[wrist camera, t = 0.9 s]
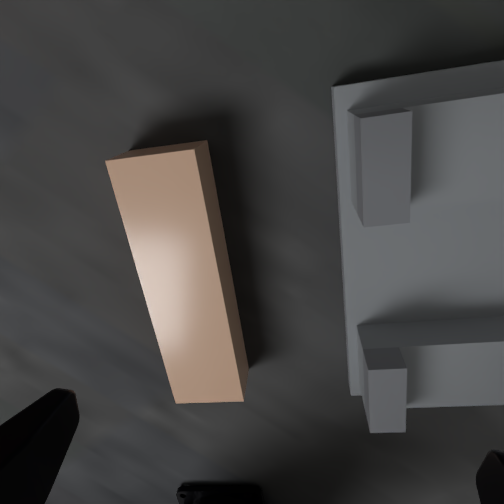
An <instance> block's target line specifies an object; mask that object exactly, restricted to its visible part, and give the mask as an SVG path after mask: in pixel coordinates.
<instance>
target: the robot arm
mask: <svg viewBox="0 0 504 504" xmlns="http://www.w3.org/2000/svg"><path fill="white" fill-rule="evenodd" d="M78 423H79V410H78V404H77V399H76V394H75V392H74V391H73V390H68V389H61V388H56V389H53V390H51V391H50V392H48V393H47V394H45V395H44V396H43V397H41V398H40V399H38V400H37V401H35V402H34V403H32V404H31V405H29V406H28V407H26V408H25V409H24V410H22V411H21V412H19V413H18V414H16V415H15V416H13V417H12V418H10V419H9V420H7V421H6V422H4V423H3V424H2V425H0V504H45V502H46V500H47V498H48V495H49V493H50V491H51V489H52V486H53V484H54V482H55V479H56V477H57V474H58V472H59V470H60V467H61V465H62V462H63V460H64V458H65V455H66V453H67V450H68V448H69V446H70V443H71V441H72V438H73V436H74V434H75V431H76V429H77V426H78ZM476 485H477V490H478V494H479V498H480V502H481V504H504V451H499V450H491V451H489V452H488V454H487V455H486V457H485V459H484V461H483V462H482V464H481V466H480V468H479V469H478V471H477V474H476ZM176 496H177V499H178V502H179V504H265V503H264V499H263V494H262V490H261V488H259V487H257V486H181V487H179V488H178V490H177V494H176Z"/></svg>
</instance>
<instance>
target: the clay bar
mask: <svg viewBox="0 0 504 504" xmlns="http://www.w3.org/2000/svg"><path fill="white" fill-rule="evenodd" d="M105 162H106V165H107V169H108V172H109V176H110V179H111V182H112V186H113V189H114V193H115V196H116V200H117V203H118V206H119V210H120V213H121V217H122V220H123V224H124V227H125V230H126V234H127V237H128V241H129V244H130V248H131V251H132V254H133V258H134V261H135V265H136V268H137V272H138V275H139V278H140V282H141V285H142V289H143V292H144V296H145V299H146V303H147V306H148V309H149V313H150V316H151V320H152V323H153V327H154V330H155V333H156V337H157V340H158V344H159V347H160V351H161V354H162V357H163V361H164V364H165V368H166V371H167V375H168V378H169V381H170V385H171V388H172V392H173V395H174V399H175V402H176V403H206V402H240V401H244V397H245V390H246V384H247V377H248V371H249V367H248V361H247V356H246V350H245V345H244V339H243V334H242V328H241V323H240V317H239V312H238V306H237V301H236V295H235V290H234V284H233V279H232V273H231V268H230V262H229V257H228V252H227V246H226V241H225V235H224V230H223V224H222V219H221V213H220V208H219V202H218V197H217V191H216V186H215V180H214V175H213V169H212V164H211V158H210V153H209V147H208V142H207V140H204V141H197V142H189V143H182V144H174V145H167V146H160V147H152V148H145V149H137V150H130V151H127V152H125V153H122V154H120V155H118V156H115V157H113V158H111V159H109V160H106V161H105Z"/></svg>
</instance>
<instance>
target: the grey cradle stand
mask: <svg viewBox="0 0 504 504" xmlns="http://www.w3.org/2000/svg"><path fill="white" fill-rule="evenodd" d="M331 89H332V106H333V123H334V140H335V158H336V175H337V192H338V209H339V226H340V243H341V261H342V278H343V295H344V312H345V329H346V346H347V363H348V381H349V388H350V393H351V396H355V395H362V398H363V403H364V407H365V412H366V417H367V421H368V426H369V430H370V433H394V432H406V408H423V407H454V406H485V405H504V60H500V61H493V62H487V63H480V64H474V65H468V66H461V67H455V68H448V69H442V70H435V71H429V72H422V73H416V74H410V75H403V76H397V77H390V78H384V79H377V80H371V81H365V82H358V83H352V84H345V85H339V86H332V87H331Z"/></svg>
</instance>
